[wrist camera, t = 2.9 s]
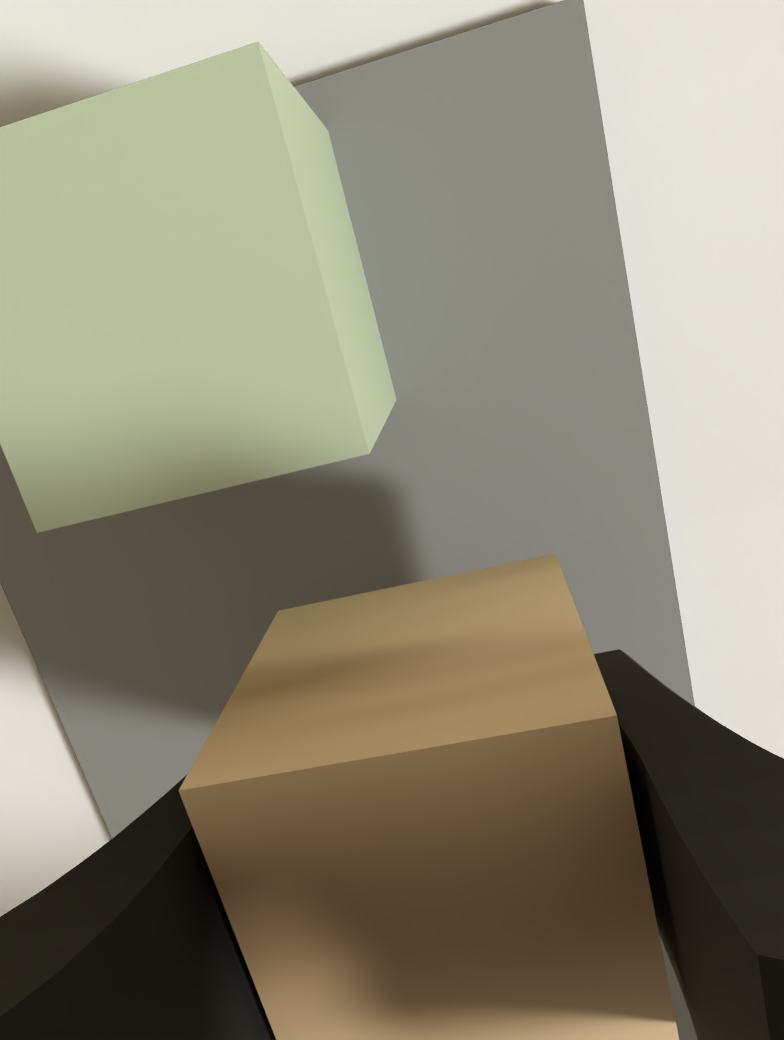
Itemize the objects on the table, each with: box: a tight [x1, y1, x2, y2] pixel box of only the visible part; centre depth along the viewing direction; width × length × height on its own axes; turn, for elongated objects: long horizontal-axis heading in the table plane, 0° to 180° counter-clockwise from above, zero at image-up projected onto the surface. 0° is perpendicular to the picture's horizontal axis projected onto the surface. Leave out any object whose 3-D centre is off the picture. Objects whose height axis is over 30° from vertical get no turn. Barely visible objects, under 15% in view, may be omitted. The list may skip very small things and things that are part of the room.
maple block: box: [179, 554, 679, 1040], centre depth 10 cm, size 4×4×4 cm
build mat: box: [0, 0, 698, 1040], centre depth 15 cm, size 22×13×1 cm, turn 14°
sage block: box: [0, 42, 396, 533], centre depth 11 cm, size 4×4×4 cm
